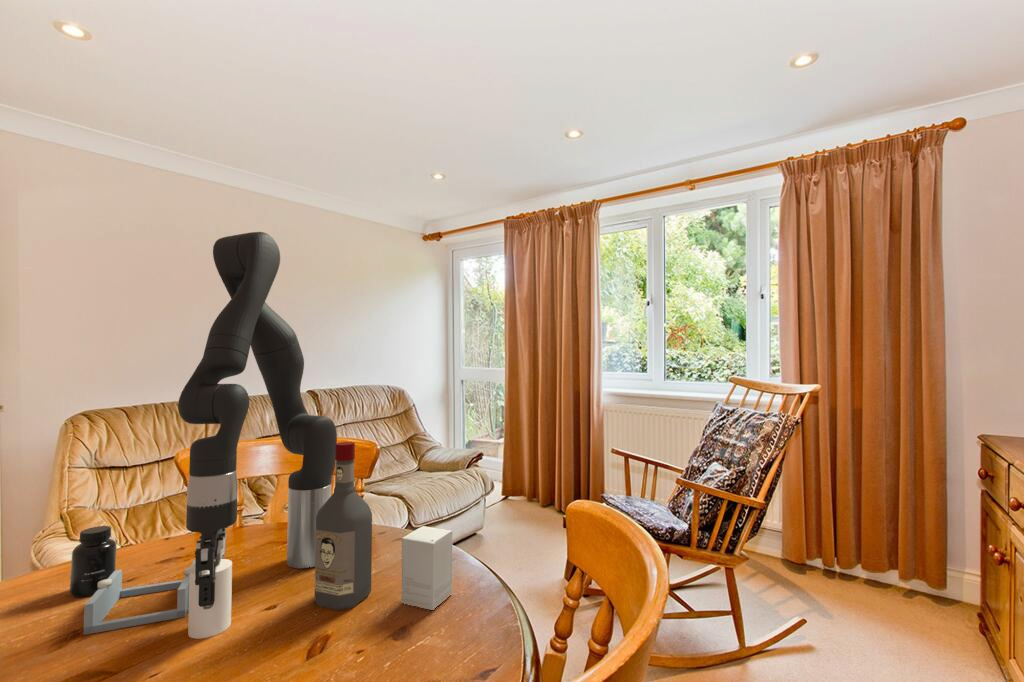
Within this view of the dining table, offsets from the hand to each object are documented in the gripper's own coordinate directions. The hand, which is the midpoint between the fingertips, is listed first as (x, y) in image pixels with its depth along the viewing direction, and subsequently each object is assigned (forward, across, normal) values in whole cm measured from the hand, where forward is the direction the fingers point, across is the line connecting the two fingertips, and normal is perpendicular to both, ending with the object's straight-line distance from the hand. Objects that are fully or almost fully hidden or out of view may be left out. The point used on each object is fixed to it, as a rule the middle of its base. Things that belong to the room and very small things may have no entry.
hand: (210, 595), depth 83 cm
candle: (+6, 0, 0) cm, 6 cm away
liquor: (+6, +2, -22) cm, 23 cm away
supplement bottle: (+6, +25, +24) cm, 35 cm away
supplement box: (+6, -5, -37) cm, 38 cm away
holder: (+6, +13, +12) cm, 19 cm away
